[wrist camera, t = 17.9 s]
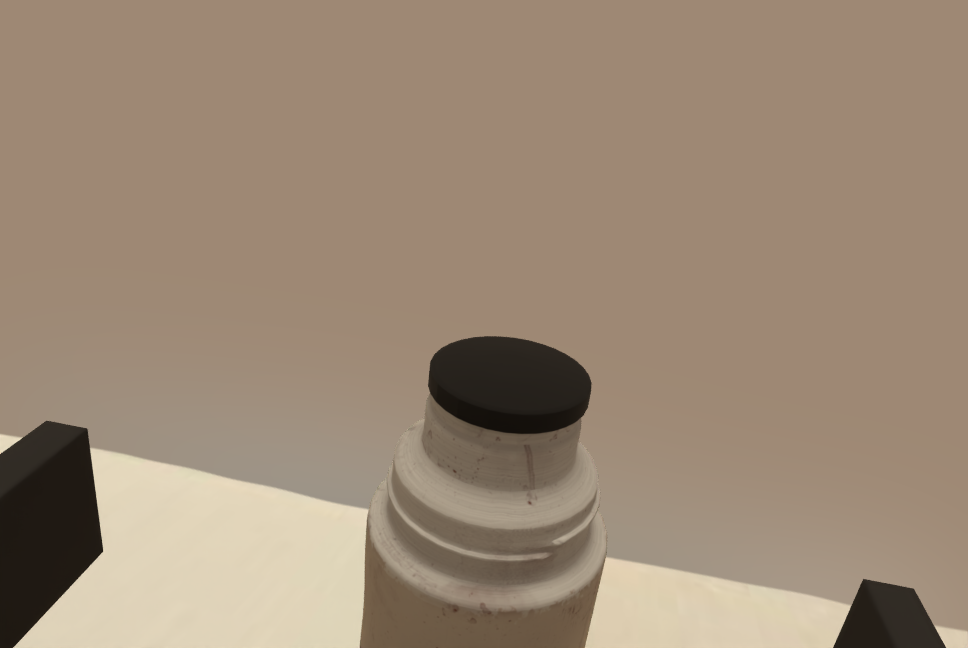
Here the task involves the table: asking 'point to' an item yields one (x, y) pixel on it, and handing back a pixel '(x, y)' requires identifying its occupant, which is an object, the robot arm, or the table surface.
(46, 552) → the robot arm
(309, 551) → the table surface
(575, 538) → the thermos bottle
